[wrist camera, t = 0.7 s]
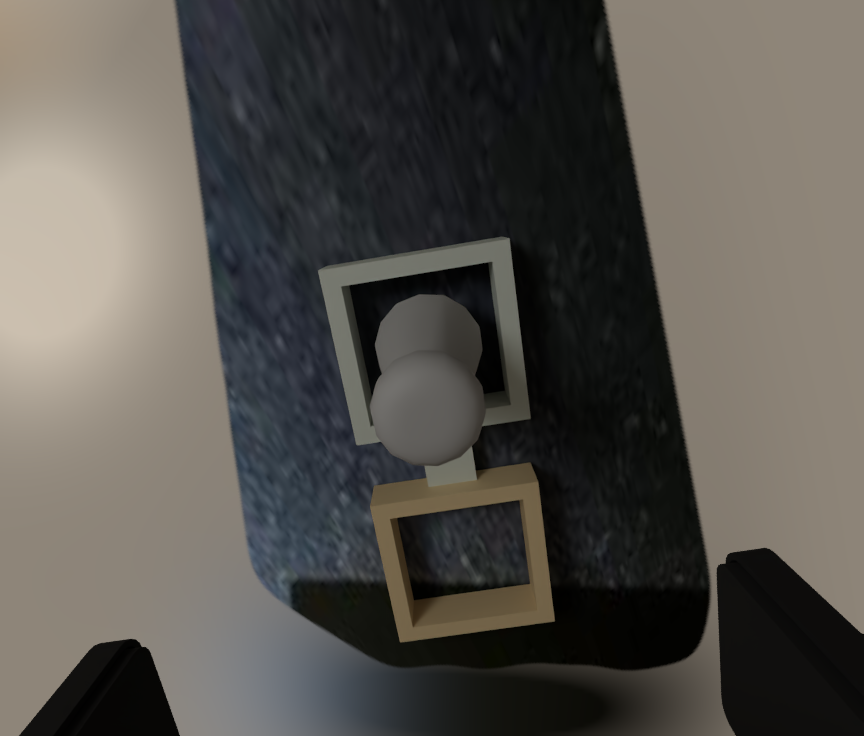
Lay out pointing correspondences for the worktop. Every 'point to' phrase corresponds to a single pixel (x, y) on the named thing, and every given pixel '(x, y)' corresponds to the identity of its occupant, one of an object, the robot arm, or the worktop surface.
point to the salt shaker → (428, 381)
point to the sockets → (458, 477)
